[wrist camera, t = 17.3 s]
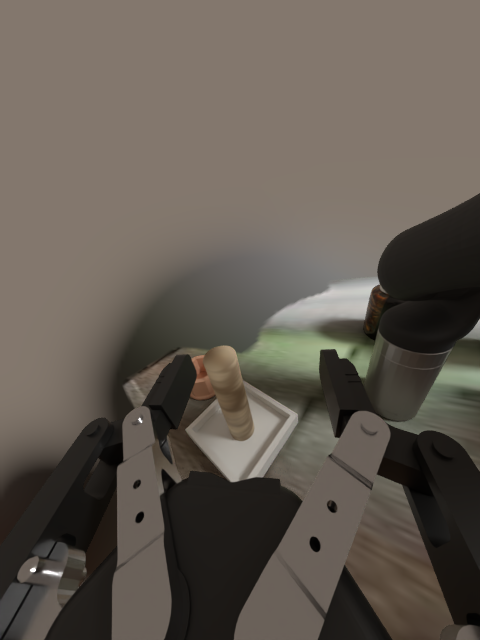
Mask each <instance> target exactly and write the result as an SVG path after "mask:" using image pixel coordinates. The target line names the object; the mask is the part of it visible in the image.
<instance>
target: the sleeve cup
mask: <svg viewBox="0 0 480 640" xmlns="http://www.w3.org/2000/svg"><path fill="white" fill-rule="evenodd" d="M204 356H205V355H201V356H195V357H194V358H193V359H192V362H193V364H194V366H195V369H196V372H197V378H196V381H195V384H194V387H193V389H192V392H191V395H190V397H192V398H193V399H195V400H207V399H210V398H212V397H214V396H215V392H214V390H213V387H212V385H211V382H210V380H209V377H208V374H207V372H206V369H205V367H204V364H203V358H204Z"/></svg>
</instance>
